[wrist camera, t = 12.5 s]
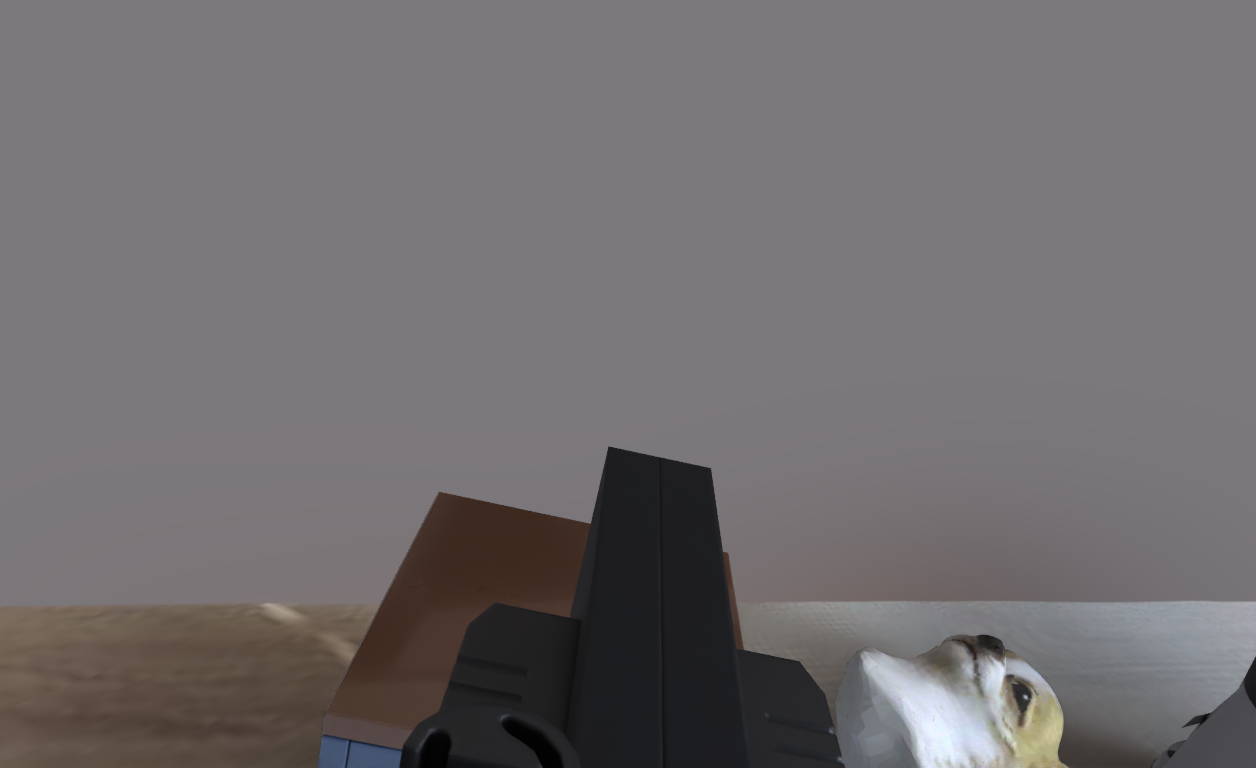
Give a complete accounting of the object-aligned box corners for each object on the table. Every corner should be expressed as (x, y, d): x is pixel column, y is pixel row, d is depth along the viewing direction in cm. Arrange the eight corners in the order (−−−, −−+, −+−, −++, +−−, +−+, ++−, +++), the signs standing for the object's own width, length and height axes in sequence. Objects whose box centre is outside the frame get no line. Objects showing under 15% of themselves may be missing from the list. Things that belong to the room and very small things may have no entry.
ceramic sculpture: (822, 560, 47) (1059, 595, 52) (767, 699, 50) (997, 721, 54) (930, 703, 37) (1209, 730, 42) (855, 866, 40) (1125, 875, 45)
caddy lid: (435, 507, 39) (438, 490, 39) (724, 568, 40) (728, 552, 40) (321, 734, 26) (324, 711, 26) (761, 822, 26) (768, 800, 26)
